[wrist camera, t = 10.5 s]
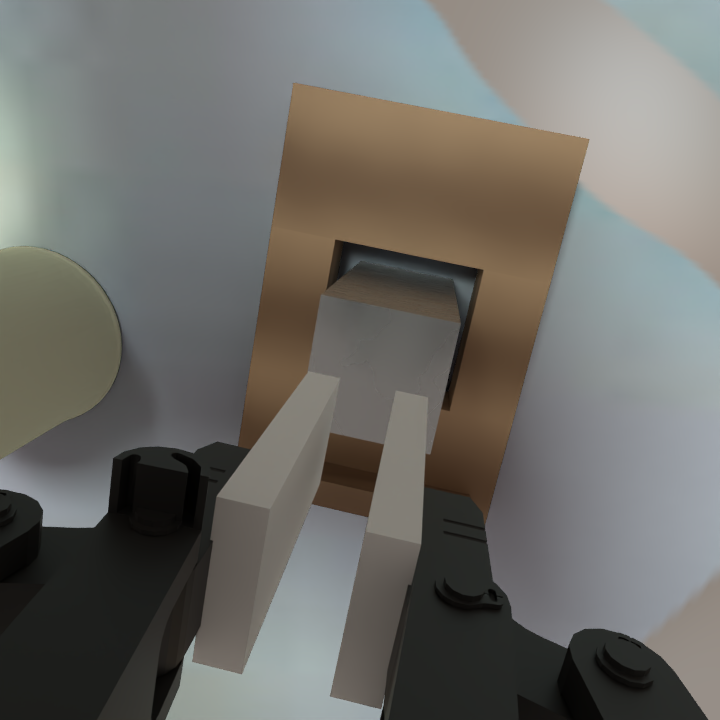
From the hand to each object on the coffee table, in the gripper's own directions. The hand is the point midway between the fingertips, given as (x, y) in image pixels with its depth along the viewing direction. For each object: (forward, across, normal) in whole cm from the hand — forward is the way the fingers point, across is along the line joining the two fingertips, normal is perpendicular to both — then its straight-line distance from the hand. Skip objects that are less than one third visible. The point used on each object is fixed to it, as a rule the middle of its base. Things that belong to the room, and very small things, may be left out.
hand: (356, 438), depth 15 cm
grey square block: (+16, 0, 0) cm, 16 cm away
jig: (+16, 0, 0) cm, 16 cm away
